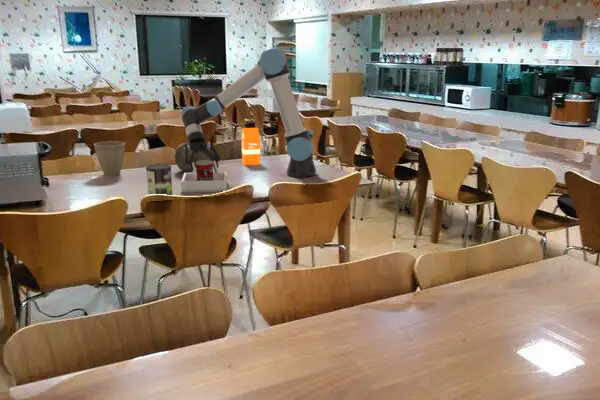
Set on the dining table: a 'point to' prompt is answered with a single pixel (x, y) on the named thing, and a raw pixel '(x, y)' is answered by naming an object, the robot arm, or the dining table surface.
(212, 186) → the tray
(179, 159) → the cantaloupe
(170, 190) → the coffee can
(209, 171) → the canned food
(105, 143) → the plant pot
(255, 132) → the orange juice
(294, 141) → the robot arm
